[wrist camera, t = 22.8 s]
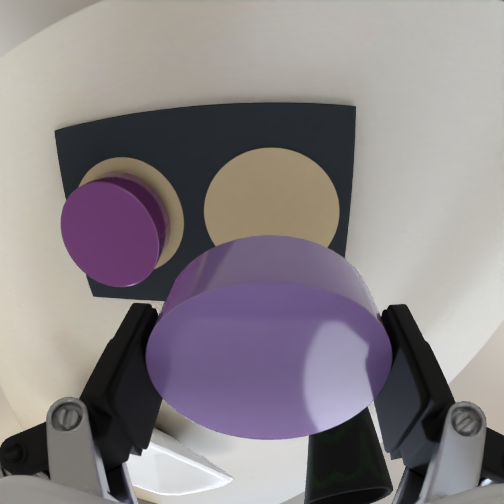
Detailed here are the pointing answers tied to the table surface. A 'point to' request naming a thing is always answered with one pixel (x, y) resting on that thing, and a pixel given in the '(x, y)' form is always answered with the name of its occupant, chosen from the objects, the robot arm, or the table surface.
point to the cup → (347, 464)
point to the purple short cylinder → (115, 228)
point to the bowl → (173, 468)
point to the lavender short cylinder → (269, 340)
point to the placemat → (223, 175)
